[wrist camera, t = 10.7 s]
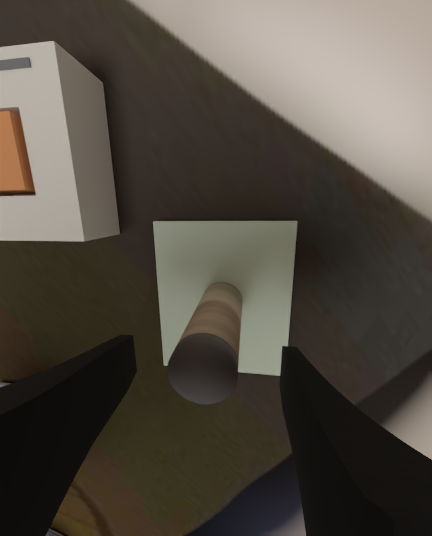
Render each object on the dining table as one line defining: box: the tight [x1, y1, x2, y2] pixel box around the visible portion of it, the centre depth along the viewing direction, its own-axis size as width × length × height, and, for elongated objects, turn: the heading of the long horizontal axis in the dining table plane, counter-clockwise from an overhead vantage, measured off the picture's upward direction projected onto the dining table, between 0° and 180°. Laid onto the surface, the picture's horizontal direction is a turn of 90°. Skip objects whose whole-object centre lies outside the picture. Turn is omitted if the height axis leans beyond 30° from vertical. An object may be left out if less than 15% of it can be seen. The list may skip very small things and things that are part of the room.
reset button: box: [0, 111, 35, 194], centre depth 14 cm, size 4×4×3 cm
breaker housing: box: [0, 41, 120, 241], centre depth 15 cm, size 10×10×4 cm
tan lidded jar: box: [167, 282, 242, 404], centre depth 14 cm, size 3×3×8 cm
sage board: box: [153, 221, 298, 376], centre depth 18 cm, size 12×10×1 cm
